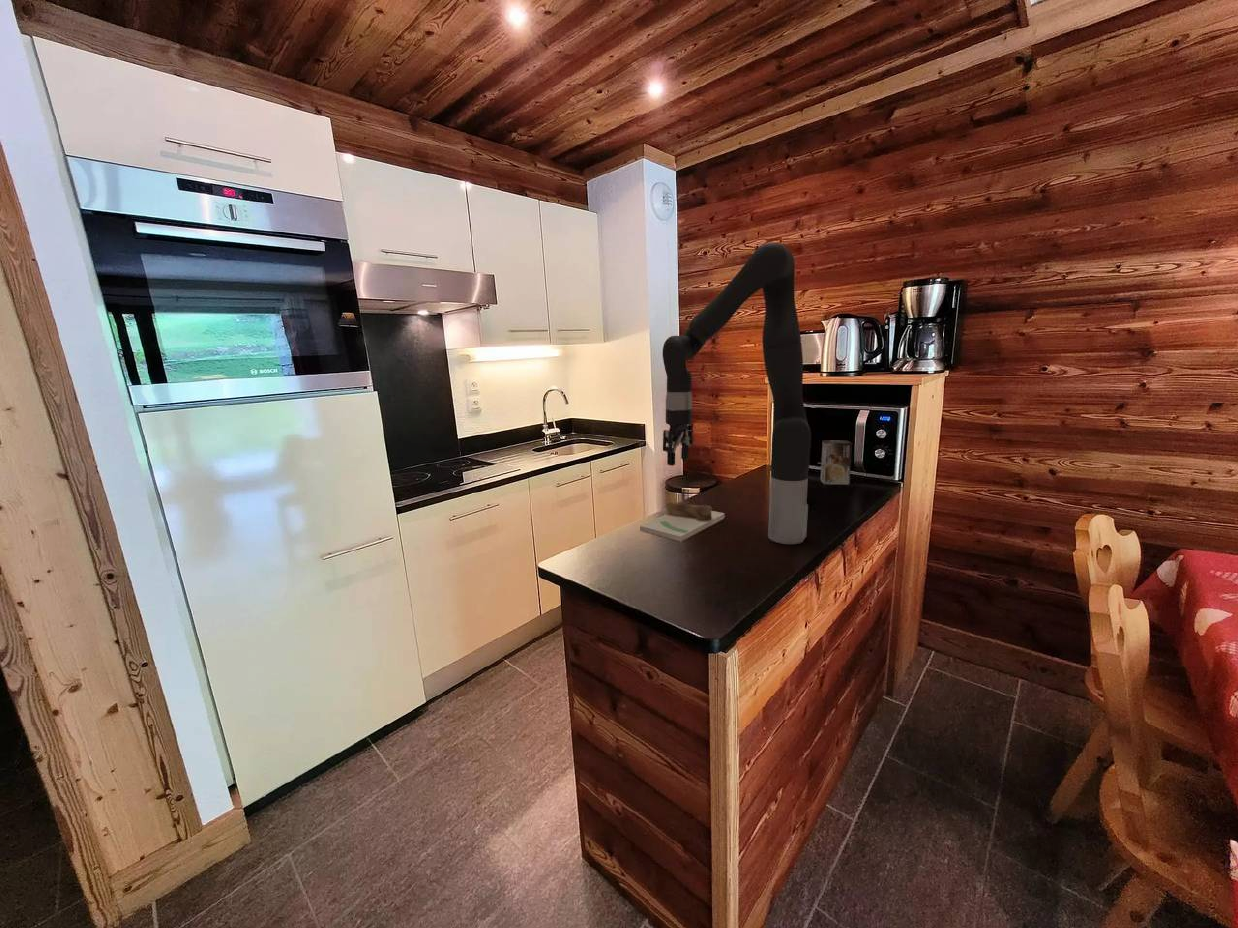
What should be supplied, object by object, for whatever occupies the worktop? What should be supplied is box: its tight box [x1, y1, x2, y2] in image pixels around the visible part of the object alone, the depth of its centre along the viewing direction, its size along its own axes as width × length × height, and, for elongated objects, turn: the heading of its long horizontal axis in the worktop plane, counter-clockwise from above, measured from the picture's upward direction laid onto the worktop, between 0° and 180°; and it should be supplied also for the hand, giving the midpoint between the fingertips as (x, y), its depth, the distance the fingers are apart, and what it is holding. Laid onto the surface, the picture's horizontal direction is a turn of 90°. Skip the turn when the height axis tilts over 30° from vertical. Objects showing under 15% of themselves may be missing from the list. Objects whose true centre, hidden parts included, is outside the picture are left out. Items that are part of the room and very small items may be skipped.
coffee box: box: [820, 439, 853, 486], centre depth 182 cm, size 9×6×16 cm
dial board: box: [639, 510, 725, 542], centre depth 143 cm, size 24×14×2 cm, turn 139°
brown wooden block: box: [666, 501, 713, 520], centre depth 144 cm, size 14×4×4 cm, turn 62°
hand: (678, 462), depth 141 cm, fingers open, 8 cm apart
